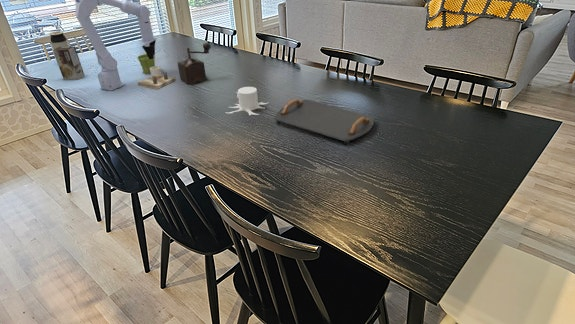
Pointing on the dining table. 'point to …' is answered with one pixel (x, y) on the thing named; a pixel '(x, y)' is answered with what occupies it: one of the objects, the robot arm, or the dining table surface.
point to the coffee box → (68, 62)
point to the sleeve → (156, 72)
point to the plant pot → (146, 62)
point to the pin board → (159, 83)
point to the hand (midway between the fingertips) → (152, 56)
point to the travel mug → (58, 39)
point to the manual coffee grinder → (193, 68)
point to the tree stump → (247, 100)
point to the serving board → (325, 119)
